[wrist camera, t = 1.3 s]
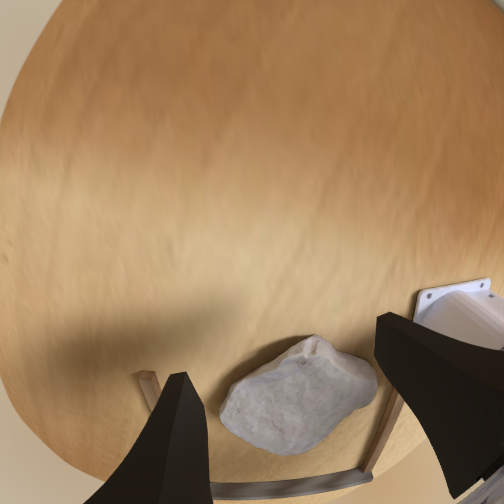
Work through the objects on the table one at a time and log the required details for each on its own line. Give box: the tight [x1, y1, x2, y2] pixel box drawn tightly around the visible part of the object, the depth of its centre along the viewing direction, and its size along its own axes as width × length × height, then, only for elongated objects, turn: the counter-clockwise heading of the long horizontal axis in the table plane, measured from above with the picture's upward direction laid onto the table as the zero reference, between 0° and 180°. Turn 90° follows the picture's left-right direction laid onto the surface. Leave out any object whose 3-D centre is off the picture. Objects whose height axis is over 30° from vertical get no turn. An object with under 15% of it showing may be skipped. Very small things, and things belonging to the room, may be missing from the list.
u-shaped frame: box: [138, 371, 405, 500], centre depth 24 cm, size 24×23×2 cm
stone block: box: [219, 335, 378, 456], centre depth 21 cm, size 12×5×10 cm
